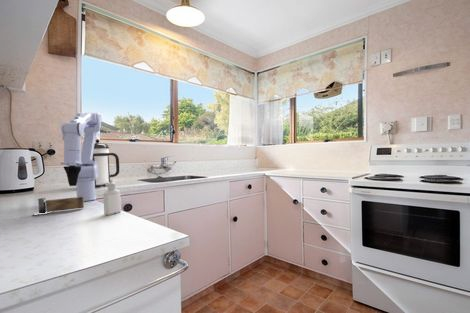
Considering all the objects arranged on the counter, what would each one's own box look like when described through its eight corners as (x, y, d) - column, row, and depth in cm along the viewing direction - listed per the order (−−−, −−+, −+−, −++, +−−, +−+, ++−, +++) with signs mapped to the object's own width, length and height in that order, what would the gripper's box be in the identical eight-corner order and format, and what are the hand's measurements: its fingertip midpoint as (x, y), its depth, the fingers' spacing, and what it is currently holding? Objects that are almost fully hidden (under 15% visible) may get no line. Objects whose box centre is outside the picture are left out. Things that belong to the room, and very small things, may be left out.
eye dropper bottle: (122, 212, 85) (121, 179, 85) (105, 215, 82) (103, 180, 82) (120, 210, 89) (118, 178, 89) (103, 213, 86) (101, 179, 85)
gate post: (36, 212, 89) (35, 198, 89) (52, 211, 92) (51, 196, 91) (31, 216, 85) (30, 200, 85) (49, 214, 87) (48, 198, 87)
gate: (46, 212, 88) (45, 201, 88) (47, 211, 90) (46, 200, 89) (83, 207, 93) (82, 197, 93) (83, 207, 94) (83, 196, 94)
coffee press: (106, 187, 147) (104, 138, 146) (80, 188, 147) (78, 139, 146) (120, 183, 164) (118, 139, 163) (97, 184, 165) (95, 140, 164)
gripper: (61, 154, 101) (61, 186, 99) (59, 148, 89) (59, 185, 87) (81, 154, 105) (81, 185, 103) (81, 148, 93) (82, 184, 91)
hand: (72, 185), depth 95 cm, fingers open, 7 cm apart
